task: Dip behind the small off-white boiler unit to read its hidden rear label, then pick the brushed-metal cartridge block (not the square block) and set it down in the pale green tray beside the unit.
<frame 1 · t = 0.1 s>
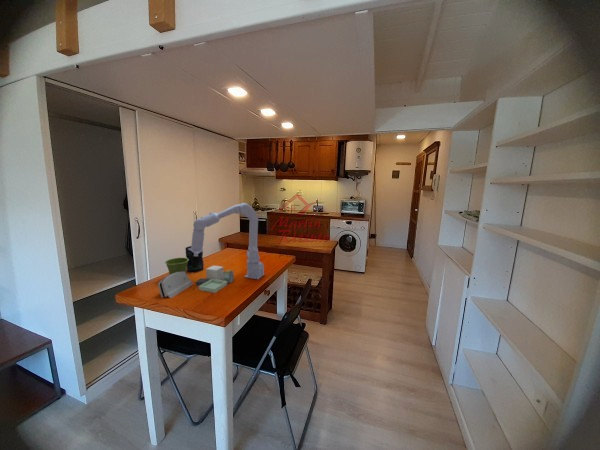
hand: (194, 265, 121), 11 cm above the table, tool pointing down, fingers open, 7 cm apart
boiler unit: (215, 279, 129), on the table
tray: (213, 287, 118), on the table
square block: (202, 284, 122), on the table
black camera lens: (195, 270, 143), on the table
plant pot: (178, 279, 128), on the table
cartridge: (228, 281, 126), on the table
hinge: (176, 290, 115), on the table
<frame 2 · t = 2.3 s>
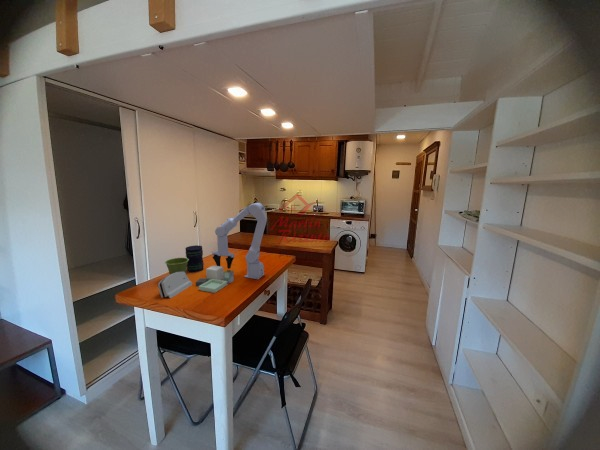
hand: (223, 267, 135), 4 cm above the table, tool pointing down, fingers open, 7 cm apart
nothing on the table moved.
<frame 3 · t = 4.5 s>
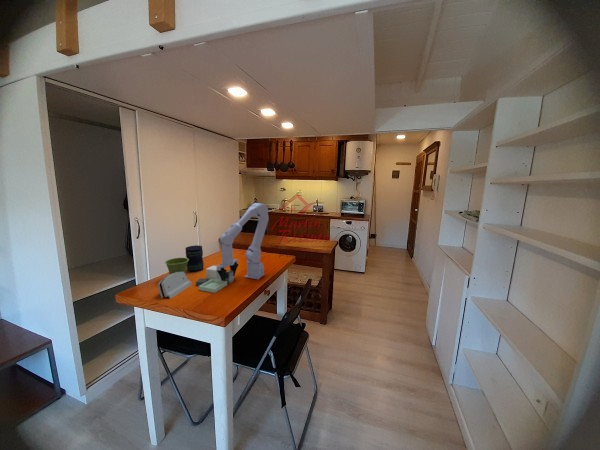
hand: (228, 278, 125), 2 cm above the table, tool pointing down, fingers open, 7 cm apart
nothing on the table moved.
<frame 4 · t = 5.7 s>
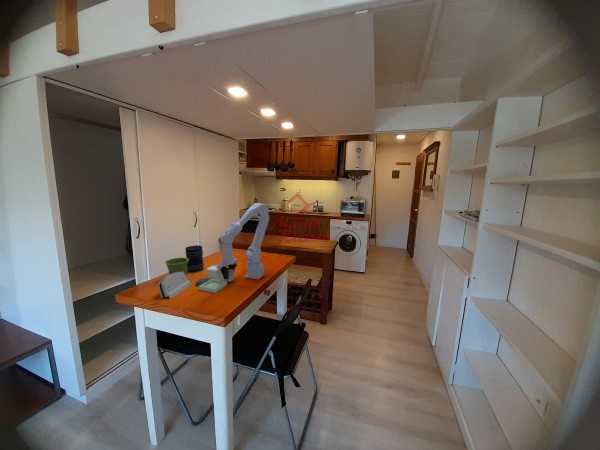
hand: (228, 277, 125), 3 cm above the table, tool pointing down, fingers closed on cartridge, 4 cm apart
cartridge: (228, 280, 126), point 1 cm above the table, touching gripper
everything else where it was.
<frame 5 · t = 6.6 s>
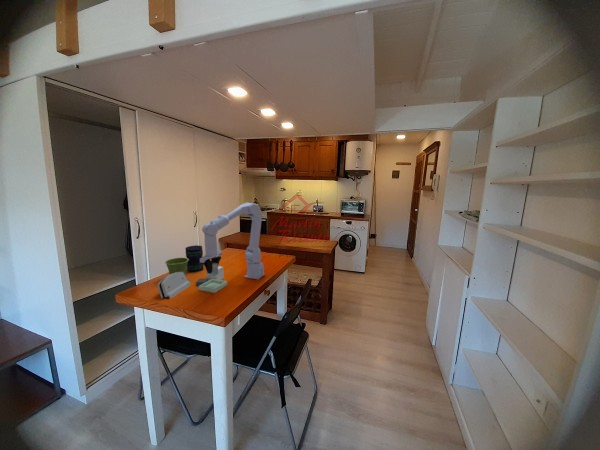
hand: (212, 271, 117), 9 cm above the table, tool pointing down, fingers closed on cartridge, 4 cm apart
cartridge: (212, 274, 117), point 7 cm above the table, touching gripper
everything else where it was.
when the fingers open (3 cm above the table, at t = 8.0 s): cartridge stays where it is, resting on tray.
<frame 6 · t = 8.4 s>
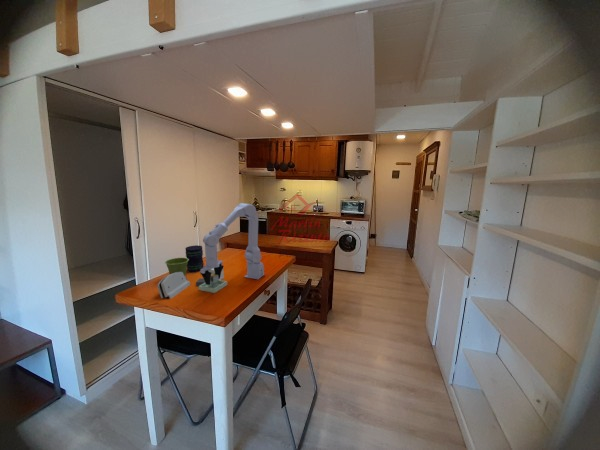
hand: (213, 281, 118), 3 cm above the table, tool pointing down, fingers open, 7 cm apart
cartridge: (213, 286, 118), point 1 cm above the table, touching tray
everything else where it was.
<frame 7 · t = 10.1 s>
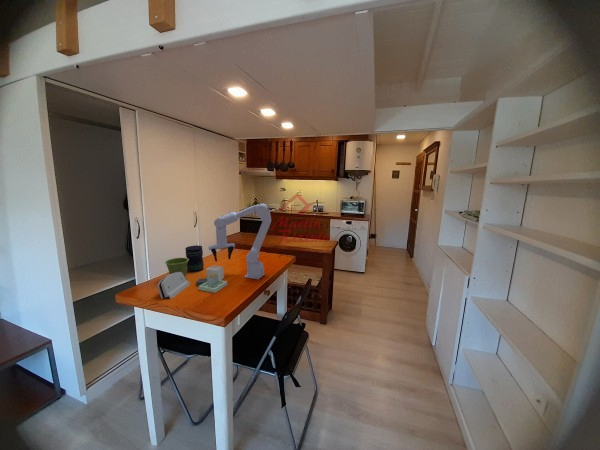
hand: (222, 260, 132), 10 cm above the table, tool pointing down, fingers open, 7 cm apart
nothing on the table moved.
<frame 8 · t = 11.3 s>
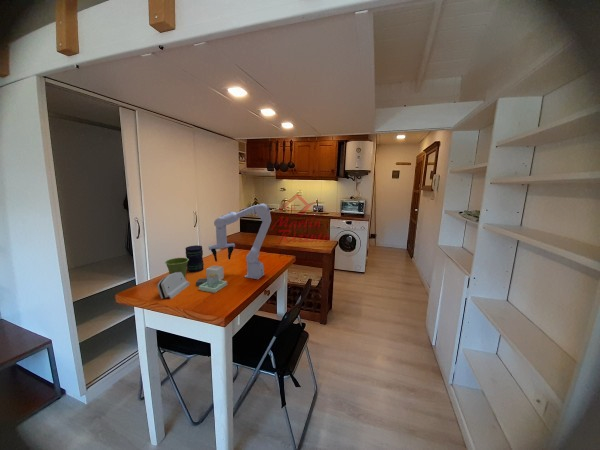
hand: (222, 260, 132), 10 cm above the table, tool pointing down, fingers open, 7 cm apart
at the end: cartridge inside the target area on the tray (0.0 cm from its centre), point 0.6 cm above the tray's base; cartridge tilted 0°; the gripper is holding nothing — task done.
